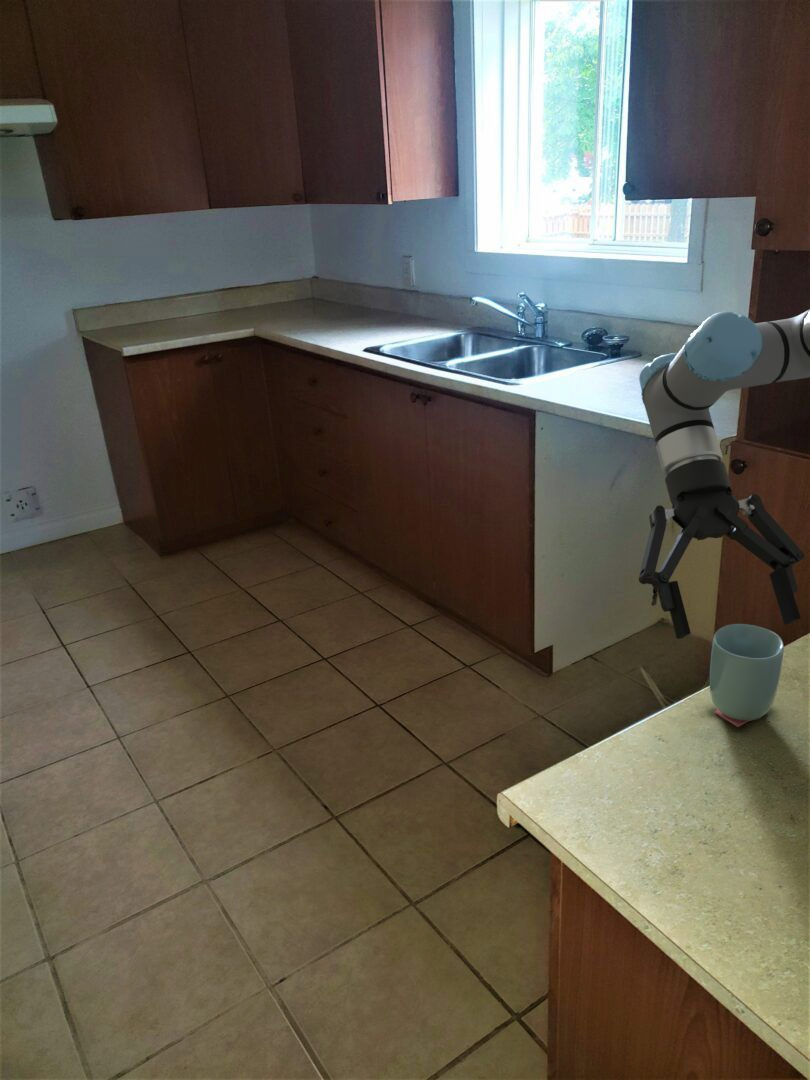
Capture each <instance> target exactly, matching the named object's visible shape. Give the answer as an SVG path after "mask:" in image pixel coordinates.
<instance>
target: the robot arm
mask: <svg viewBox="0 0 810 1080" xmlns="http://www.w3.org/2000/svg"><path fill="white" fill-rule="evenodd" d="M638 377H639V379H638V380H639V385H640V390H641V401H642V404H643V405H644V409H645V412H646V416H647V419H648V423H649V427H650V430H651V434H652V437H653V441H654V444H655V447H656V452H657V455H658V459H659V463H660V466H661V471H662V474H664V476H666V477H665V479H664V482H665V486H666V490H667V493H668V498H669V501H670V503H671V508H665V507H664V506H663V505H661V504H660V505H659V504H658V505H656V506H655V507H654V509H653V510H652V511H651V512H650V513H649V515H648V518H649V525H650V531H649V534H648V535H649V536H648V539H647V544H646V547H645V551H644V555H643V559H642V564H641V566H640V567H641V568H640V572H639V575H638V582H639V583H640V584H641V585H646V584H647V585H651V586H652V588H653V589H655V590H656V591H657V595H658V599H659V602H660V607H661V609H662V611H663V612H664V613H665V612H669V614H670V617H671V618H670V619H671V621H672V625H673V629H674V630H673V631H674V633H675V638H676V639H677V640H680V639H681V640H682V639H684V638H685V637H687V636H689V635H690V634H691V628H690V625H689V621H688V617H687V613H686V609H685V605H684V602H683V598H682V594H681V589H680V586H679V582H678V580H672V581H670V580H671V578H672V576H673V574H674V572H675V570H676V569H677V567H678V565H679V563H680V561H681V559H682V558H683V556H684V554H685V552H686V551H687V549H688V547H689V545H690V543H691V541H692V539H697V541H704V540H706V539H709V538H710V539H719V538H720V539H721V538H722V537H724V536H726V537H727V538H728V539H730V540H732V541H736V542H737V543H738V544H740V545H741V546H742V547H744V549H746V550H747V551H749V552H750V553H751V554H753V555H754V556H755V557H757V558H758V559H759V560H760V561H762V562H763V563H764V564H766V565H767V566H768V567H770V569H772V570H773V571H772V572H771V573H769V574H768V575H769V578H770V582H771V585H772V588H773V591H774V595H775V598H776V601H777V605H778V608H779V610H780V615H781V619H782V621H783V625H784V626H786V625H787V626H788V625H791V624H793V623H795V622H797V621H799V620H801V619H802V617H801V614H800V611H799V608H798V605H797V601H796V597H795V594H797V593H798V591H799V587H798V584H797V580H796V578H795V574H794V570H793V566H794V565H796V564H798V563H799V562H801V561H802V560H804V558H805V553H804V551H802V549H801V548H800V547H799V546H798V544H797V543H796V542H795V541H794V540H793V539H792V538H791V537H790V535H788V534H787V532H786V531H785V530H784V529H783V528H782V526H780V525H779V523H778V522H777V521H776V520H775V519H774V517H772V515H771V514H770V513H769V512H768V511H767V510H766V508H765V506H764V504H763V501H762V499H761V497H760V495H759V494H757V493H753V494H751V495H750V496H749V497H748V498H744V499H739V500H737V498H736V497H735V496H734V495H733V490H732V483H731V480H730V477H729V473H728V470H727V467H726V463H724V462H723V461H722V460H723V453H722V449H721V445H720V443H719V439H718V436H717V433H716V430H715V429H716V428H715V426H714V423H713V420H712V416H711V412H710V408H711V407H712V406H714V404H715V403H717V401H718V400H720V398H721V397H722V396H723V395H724V394H725V393H726V392H727V393H728V392H729V391H732V390H737V389H738V390H739V389H744V388H751V387H757V386H764V385H769V384H775V383H781V382H787V381H795V380H801V379H809V378H810V309H808V310H805V311H804V312H802V313H800V314H799V315H795V316H793V317H790V318H784V319H778V320H772V321H771V320H769V321H763V322H757V323H755V322H754V321H752V320H751V318H749V317H747V316H746V315H744V314H737V313H734V312H733V311H720V312H716V313H714V314H712V315H710V316H708V317H707V318H706V319H705V320H704V321H703V322H702V323H701V324H700V325H699V326H698V328H697V329H694V331H693V332H692V333H691V334H690V335H689V337H688V339H687V340H686V342H685V343H684V344H683V346H682V347H681V348H680V349H679V351H678V352H671V353H667V354H663V355H660V356H658V357H656V358H654V359H653V361H652V362H649V363H646V364H645V365H644V366H643V368H642V369H641V371H640V373H639V376H638ZM739 512H741V513H742V516H743V517H747V519H748V520H749V522H750V523H751V525H752V526H753V527H754V528H755V529H756V530H757V531H758V533H757V532H756V531H755V530H754V529H752V528H751V527H750V526H749V524H748V522H746V521H745V520H744V519H743V518H741V517H740V516H739V515H738V513H739ZM671 520H672V521H674V522H675V523H676V524H677V526H679V527H680V528H681V530H680V531H679V534H678V535H677V537H676V539H675V542H674V544H673V546H672V547H671V549H670V551H669V553H668V555H667V556H666V558H665V560H664V562H663V564H662V566H661V567H660V569H659V571H656V570H657V565H658V563H659V562H658V561H659V557H660V553H661V550H662V545H663V541H664V536H665V532H666V529H667V525H669V523H670V522H671ZM759 533H760V534H759Z"/></svg>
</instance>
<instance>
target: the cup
mask: <svg viewBox="0 0 810 1080" xmlns="http://www.w3.org/2000/svg"><path fill="white" fill-rule="evenodd" d="M784 653H785V647H784V642H783V640H782V638H781V636H779V634H777V633H776V632H774V631H772V630H770V629H768V628H765V627H762V626H758V625H754V624H749V623H731V624H730V623H729V624H727V625H724V626H722V627H720V628H719V629H717V630H716V631H715V633H714V635H713V638H712V643H711V653H710V659H709V661H710V663H709V678H708V680H709V681H708V682H709V685H708V686H709V694H710V698H711V701H712V703H713V705H714V707H715V708H716V709H717V710H719V711H720V712H721V713H723V714H724V715H726V716H728V717H730V718H733V719H737V720H743V721H748V722H751V721H756V720H759V719H760V718H763V717H764V716H765V715H766V714H767V713H768V712H769V711H770V709H771V708H772V706H773V704H774V702H775V699H776V696H777V692H778V689H779V685H780V679H781V674H782V667H783V661H784Z"/></svg>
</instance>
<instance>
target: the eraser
mask: <svg viewBox="0 0 810 1080" xmlns="http://www.w3.org/2000/svg"><path fill="white" fill-rule="evenodd" d="M714 714H716V715H718V716H719V717H721V718H723V719H724V720H725V721H727V722H729V723H731V724H732V725H734V726H735V727H737V728H739V727H742V726H743V725H744V724H746V723H748V722H749V721H743V720H737V719H733V718H730V717H728V716H726V715H724V714H723V713H721V712H720V711H719V710H718V709H717V710H715V711H714Z"/></svg>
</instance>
